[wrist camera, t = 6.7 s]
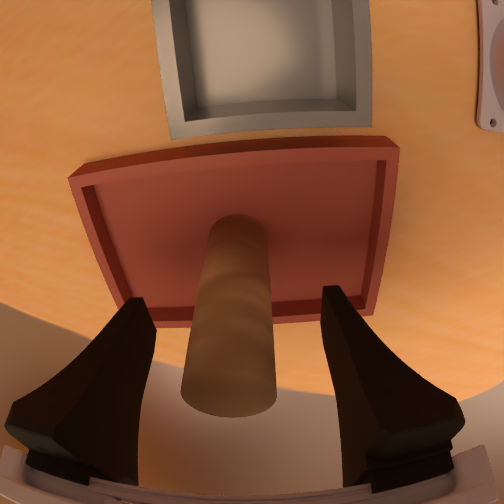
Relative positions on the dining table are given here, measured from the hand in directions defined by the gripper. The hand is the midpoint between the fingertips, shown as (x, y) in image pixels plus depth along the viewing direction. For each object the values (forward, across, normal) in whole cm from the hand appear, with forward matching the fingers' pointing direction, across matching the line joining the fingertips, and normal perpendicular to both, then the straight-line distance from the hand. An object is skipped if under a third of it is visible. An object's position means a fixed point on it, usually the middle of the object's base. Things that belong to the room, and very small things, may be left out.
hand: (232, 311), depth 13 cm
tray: (+6, 0, 0) cm, 6 cm away
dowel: (+5, 0, 0) cm, 5 cm away
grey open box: (+6, -2, -10) cm, 12 cm away
